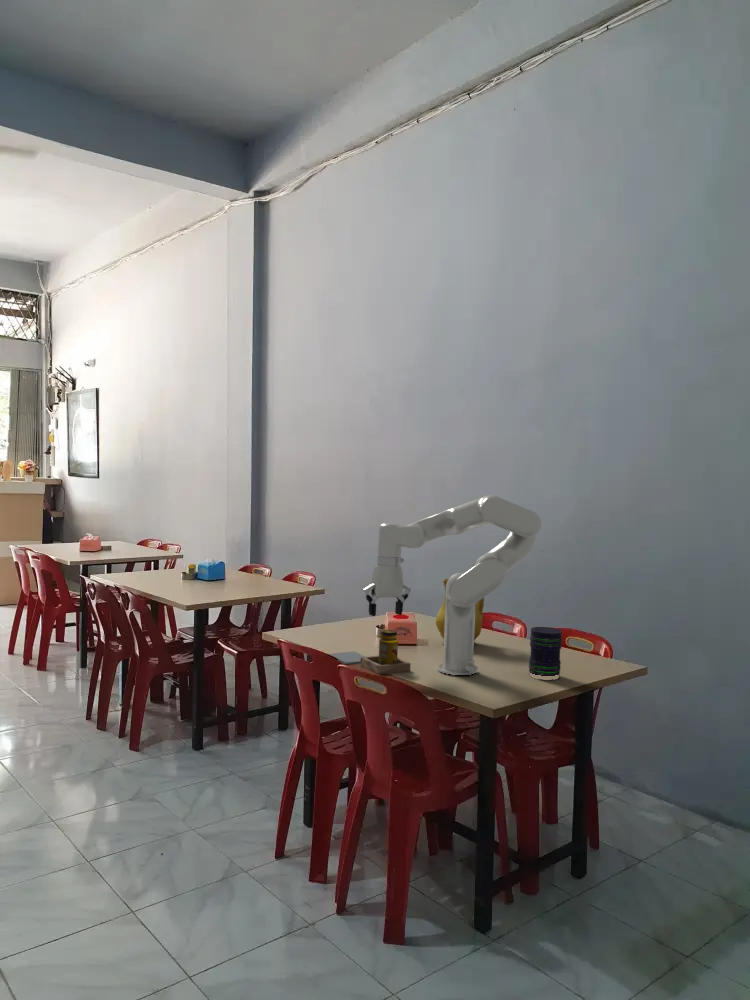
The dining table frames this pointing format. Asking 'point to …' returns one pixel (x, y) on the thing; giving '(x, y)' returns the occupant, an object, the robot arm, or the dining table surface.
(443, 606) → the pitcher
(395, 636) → the condiment
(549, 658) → the storage jar
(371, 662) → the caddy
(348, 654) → the mat
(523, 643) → the dining table surface
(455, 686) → the dining table surface
